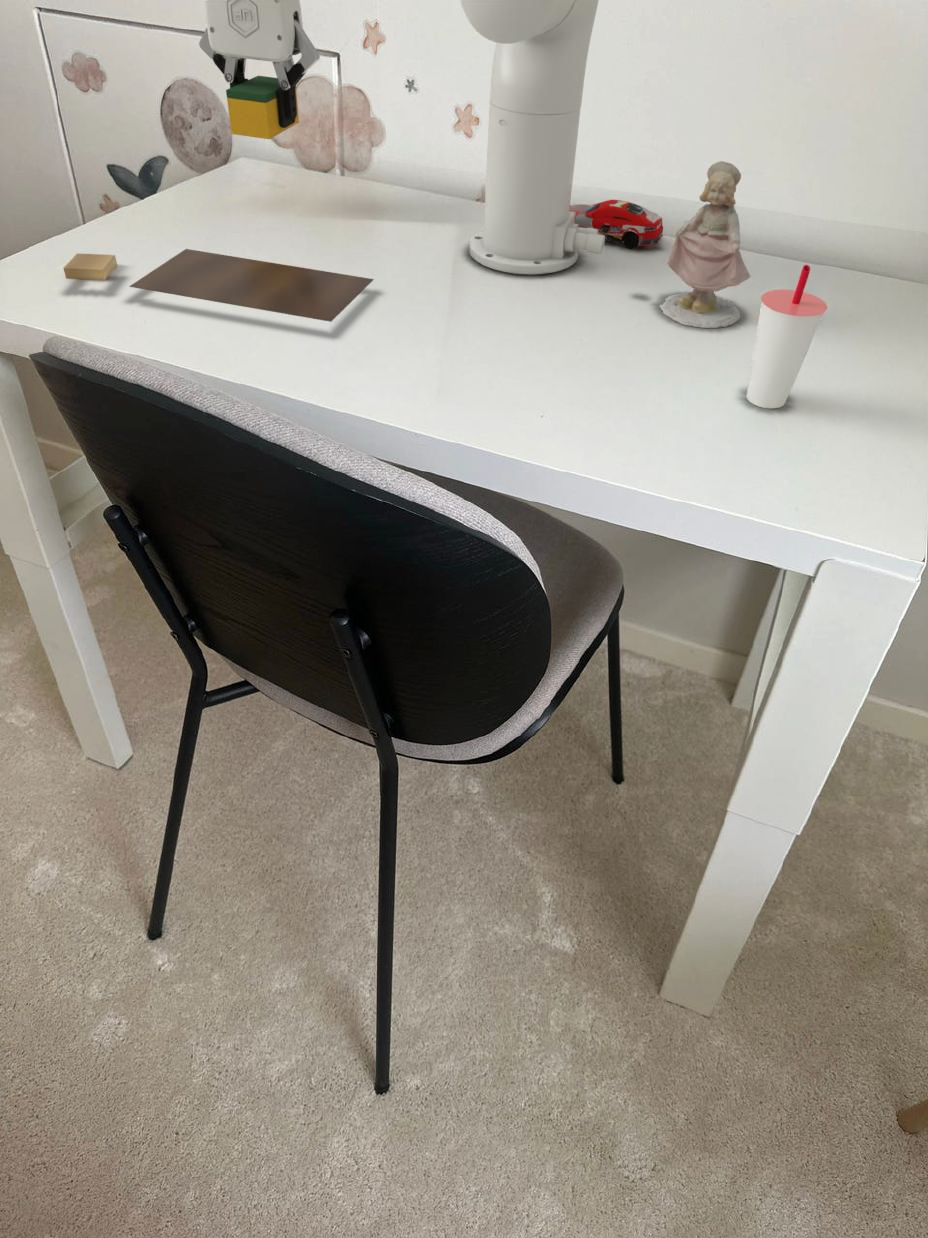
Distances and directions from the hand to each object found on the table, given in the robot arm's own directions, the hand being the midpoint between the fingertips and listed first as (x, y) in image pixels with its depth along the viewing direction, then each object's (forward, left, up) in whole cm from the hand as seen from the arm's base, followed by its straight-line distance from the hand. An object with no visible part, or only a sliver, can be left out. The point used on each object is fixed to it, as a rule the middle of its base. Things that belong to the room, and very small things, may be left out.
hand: (265, 119), depth 107 cm
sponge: (0, 0, -1) cm, 1 cm away
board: (-11, +27, -9) cm, 31 cm away
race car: (-42, -5, -10) cm, 44 cm away
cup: (-63, +30, -10) cm, 71 cm away
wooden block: (+5, +31, -9) cm, 32 cm away
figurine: (-54, +13, -10) cm, 57 cm away
